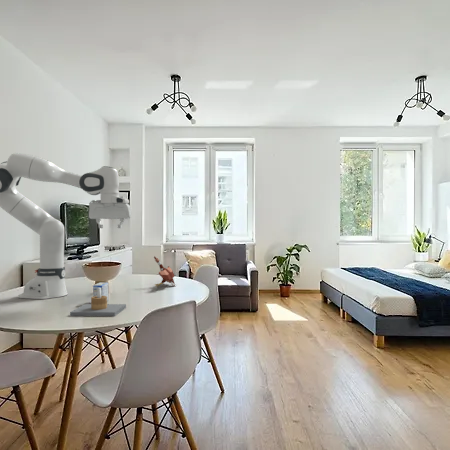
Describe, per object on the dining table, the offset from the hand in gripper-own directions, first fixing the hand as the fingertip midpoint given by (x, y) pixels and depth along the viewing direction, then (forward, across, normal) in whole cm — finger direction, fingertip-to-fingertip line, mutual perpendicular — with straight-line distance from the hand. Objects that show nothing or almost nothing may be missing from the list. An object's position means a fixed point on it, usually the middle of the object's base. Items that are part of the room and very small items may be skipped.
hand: (110, 228), depth 177 cm
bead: (+33, +5, -27) cm, 43 cm away
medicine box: (+34, -1, -10) cm, 36 cm away
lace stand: (+34, +5, -27) cm, 44 cm away
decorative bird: (+34, +20, +32) cm, 51 cm away
